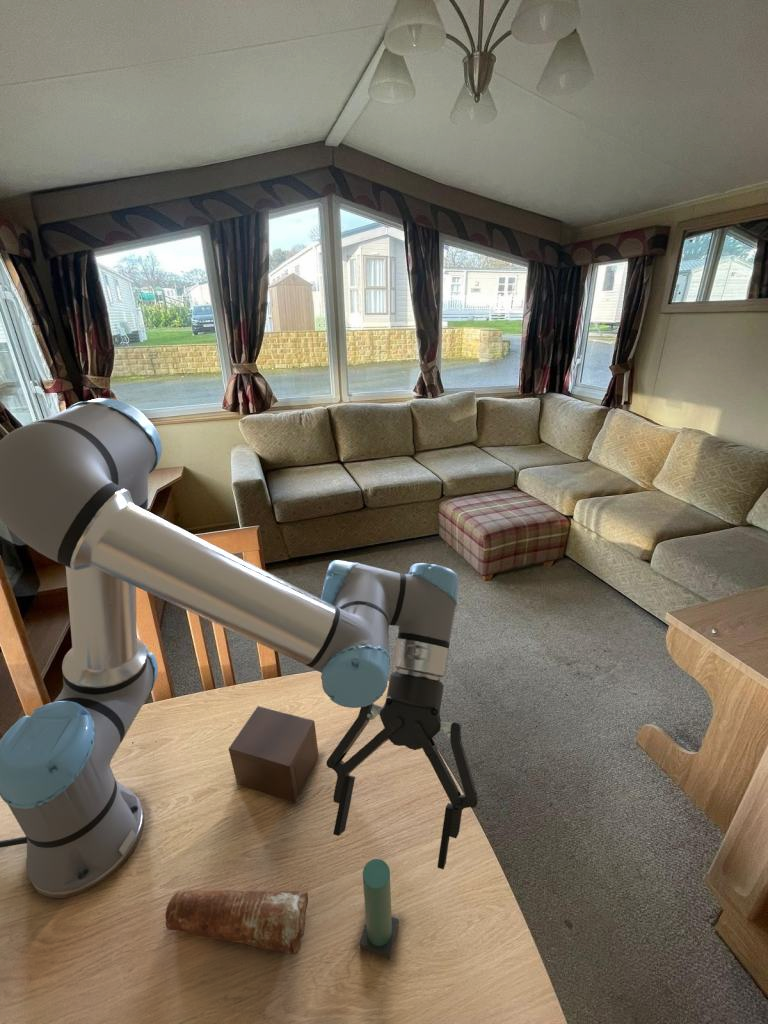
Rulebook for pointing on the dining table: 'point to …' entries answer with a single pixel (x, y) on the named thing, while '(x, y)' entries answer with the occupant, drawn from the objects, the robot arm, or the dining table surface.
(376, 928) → the green handled tool
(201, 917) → the brown cylinder
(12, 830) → the dining table surface
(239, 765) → the dark brown wooden cube
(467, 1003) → the dining table surface
